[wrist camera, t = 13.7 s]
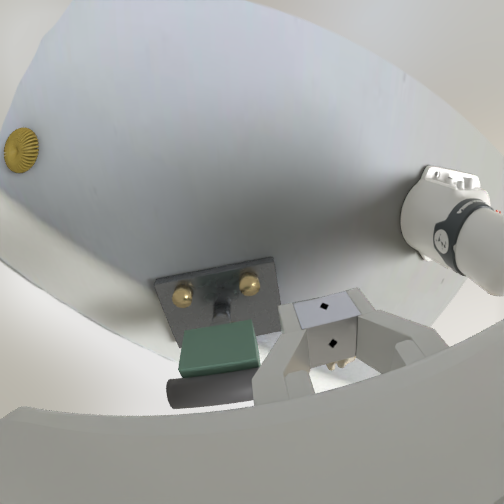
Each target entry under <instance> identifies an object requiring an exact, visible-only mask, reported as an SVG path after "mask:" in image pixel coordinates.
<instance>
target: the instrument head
mask: <svg viewBox="0 0 504 504" xmlns="http://www.w3.org/2000/svg"><path fill="white" fill-rule="evenodd" d="M260 366H261V365H260V358H259V351H258V344H257V340H256V336H255V331H254V327H253V323H252V319H250V320H244V321H239V322H233V323H230V322H229V321H223V322H218V323H212V324H210V327H204V328H198V329H191V330H185V331H184V337H183V343H182V349H181V355H180V361H179V368H178V370H179V372H180V374H181V376H182V378H179V379H170V380H168V382H167V386H166V392H167V398H168V401H169V404H170V406H171V407H172V408H173V409H180V408H194V407H204V406H214V405H222V404H229V403H237V402H244V401H251V400H254V399H253V388H252V378H253V376H254V375H255V373H256V372H257V371H258V369H259V368H260Z"/></svg>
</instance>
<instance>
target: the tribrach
mask: <svg viewBox="0 0 504 504" xmlns="http://www.w3.org/2000/svg"><path fill="white" fill-rule="evenodd" d="M154 286H155V289H156V292H157V295H158V297H159V300H160V302H161V305H162V307H163V310H164V313H165V315H166V318H167V320H168V322H169V325H170V327H171V330H172V332H173V334H174V337H175V339H176V342H177V344H178V346H179V348H182V343H183V337H184V331H185V330H191V329H198V328H204V327H210V324H212V323H218V322H223V321H229V322H230V323H233V322H239V321H244V320H250V319H252V323H253V327H254V331H255V336H258V335H263V334H268V333H273V332H278V331H282V330H281V324H280V318H279V312H278V306H279V305H281V302H280V295H279V289H278V283H277V277H276V270H275V264H274V260H273V257H269V258H264V259H259V260H254V261H249V262H243V263H238V264H233V265H228V266H223V267H218V268H213V269H208V270H202V271H197V272H192V273H187V274H182V275H176V276H171V277H166V278H161V279H156V281H155V284H154Z"/></svg>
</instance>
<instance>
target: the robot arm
mask: <svg viewBox="0 0 504 504" xmlns="http://www.w3.org/2000/svg"><path fill="white" fill-rule="evenodd" d="M435 172H436V174H435ZM401 230H402V234H403V237H404V239H405V240H406V242H407V243H408V244H409V245H410V246H411V247H412V248H414V249H416V250H418V251H419V252H420V254H421V256H422V258H423V259H424V260H426V261H431V260H433V261H435V262H437V263H438V264H440V265H442V266H444V267H445V268H447V269H452V270H453V271H455V272H456V273H459V274H460V275H462V276H467V277H468V278H469V279H471V280H472V281H473V282H475V283H476V284H477V285H478V286H480V287H481V288H482V289H483V290H485V291H486V292H487V293H488V294H490V295H493V296H504V215H503V214H501V211H500V212H499V213H498V210H496V211H494V210H493V209H492V208H491V207H490V199H489V195H488V193H487V191H486V190H484V189H481V186H480V182H479V179H478V177H477V176H476V175H473V174H470V173H465V172H461V171H456V170H451V169H446V168H441V167H436V166H430V165H429V166H427V167H426V168H425V170H424V172H423V174H422V177H421V179H420V180H419V182H418V183H417V184H416V185H415V186H414V187H413V188H412V189H411V190H410V192H409V193H408V195H407V197H406V199H405V201H404V204H403V207H402V211H401ZM278 312H279V318H280V324H281V330H282V334H281V335H280V337H279V338H278V340H277V341H276V343H275V345H274V346H273V348H272V349H271V351H270V352H269V354H268V355H267V357H266V358H265V360H264V361H263V363H262V365H261V366H260V368H259V369H258V371H257V372H256V373H255V375H254V376H253V378H252V388H253V399H254V406H252V407H245V408H238V409H231V410H224V411H215V412H205V413H193V414H179V415H159V416H112V415H91V414H78V413H67V412H58V411H50V410H43V409H37V408H31V407H19V408H17V409H16V410H14V411H12V412H10V413H9V414H7V415H6V416H5V417H3V418H2V419H0V504H504V319H503V320H501V321H499V322H497V323H496V324H494V325H492V326H490V327H489V328H487V329H485V330H483V331H481V332H480V333H477V334H476V335H474V336H472V337H470V338H468V339H466V340H464V341H462V342H460V343H457V344H455V345H453V346H451V347H449V346H448V345H447V344H446V343H445V341H444V340H443V339H442V338H441V337H440V335H439V334H438V333H437V332H436V331H435V330H434V329H433V328H430V327H427V326H424V325H421V324H419V323H416V322H413V321H410V320H407V319H404V318H402V317H399V316H396V315H393V314H390V313H387V312H385V311H382V310H377V311H376V310H375V309H374V307H373V306H372V305H371V303H370V302H369V301H368V299H367V298H366V297H365V295H364V294H363V293H362V292H361V290H360V289H359V288H353V289H350V290H346V291H343V292H340V293H336V294H332V295H328V296H324V297H320V298H319V297H318V298H313V299H309V300H304V301H299V302H293V303H288V304H284V305H279V306H278ZM355 356H356V358H358V359H359V360H361V361H363V362H364V363H366V364H367V365H369V366H370V367H372V368H374V369H375V370H377V371H378V372H380V373H381V375H378V376H375V377H372V378H369V379H366V380H363V381H359V382H356V383H353V384H349V385H346V386H343V387H339V388H335V389H332V390H328V391H324V392H320V393H316V394H315V392H314V388H313V385H312V382H311V379H310V376H309V372H310V368H314V367H317V366H321V365H325V364H328V363H332V362H336V361H340V360H344V359H348V358H352V357H355Z"/></svg>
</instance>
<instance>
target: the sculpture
mask: <svg viewBox="0 0 504 504" xmlns="http://www.w3.org/2000/svg"><path fill="white" fill-rule="evenodd" d="M38 144H39V143H38V139H37V136H36V135H35V133H34V132H33V131H32V130H31V129H28V128H19V129H16V130H15V131H13V132H12V133H11V134H10V136H9V137H8V139H7V141H6V144H5V147H4V149H5V150H4V152H6V153H4V155H6V156H4V159H5V162H6V165H7V166H8V168H9V169H10V170H11V171H13V172H15V173H23V172H26V171H28V170H29V169H30V168H31V167H32V166H33V165H34V163H35V161H36V159H37V156H38V152H37V151H39V149H35V148H38V147H39V146H36V145H38ZM33 148H34V149H33Z"/></svg>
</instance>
